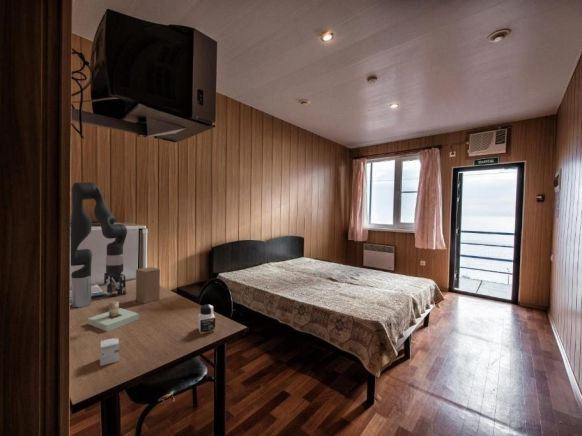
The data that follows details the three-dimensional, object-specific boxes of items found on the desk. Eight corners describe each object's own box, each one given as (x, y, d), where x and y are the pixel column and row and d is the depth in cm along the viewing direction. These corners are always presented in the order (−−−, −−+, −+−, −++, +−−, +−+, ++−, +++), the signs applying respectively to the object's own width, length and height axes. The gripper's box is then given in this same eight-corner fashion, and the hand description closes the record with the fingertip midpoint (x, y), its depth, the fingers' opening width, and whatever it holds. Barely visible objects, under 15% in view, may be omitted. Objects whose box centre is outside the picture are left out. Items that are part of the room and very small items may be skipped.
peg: (107, 322, 137) (107, 303, 137) (115, 319, 141) (115, 300, 141) (112, 324, 135) (112, 304, 135) (120, 321, 139) (120, 302, 139)
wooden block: (159, 299, 172) (160, 268, 171) (144, 304, 164) (144, 271, 163) (151, 296, 177) (151, 266, 176) (135, 300, 169) (135, 269, 168)
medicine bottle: (200, 334, 128) (200, 309, 128) (197, 327, 134) (198, 304, 134) (215, 331, 131) (215, 307, 131) (212, 325, 138) (212, 302, 137)
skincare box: (100, 366, 101) (100, 347, 100) (100, 358, 106) (100, 340, 105) (119, 361, 104) (119, 342, 104) (118, 354, 109) (118, 336, 109)
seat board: (88, 324, 135) (88, 318, 134) (120, 313, 149) (120, 307, 149) (106, 331, 128) (106, 325, 127) (138, 319, 142) (138, 313, 142)
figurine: (123, 290, 187) (123, 269, 186) (126, 295, 178) (126, 272, 178) (107, 293, 181) (107, 271, 180) (110, 297, 172) (110, 274, 172)
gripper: (98, 262, 137) (98, 293, 138) (115, 266, 131) (115, 298, 131) (113, 260, 144) (113, 289, 144) (130, 263, 137) (130, 294, 138)
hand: (114, 294), depth 138 cm, fingers open, 8 cm apart
